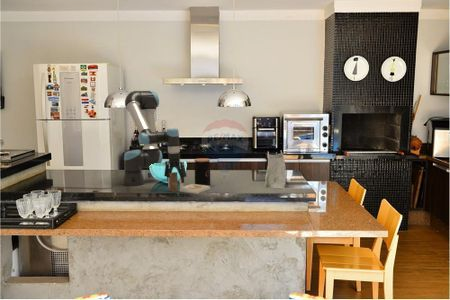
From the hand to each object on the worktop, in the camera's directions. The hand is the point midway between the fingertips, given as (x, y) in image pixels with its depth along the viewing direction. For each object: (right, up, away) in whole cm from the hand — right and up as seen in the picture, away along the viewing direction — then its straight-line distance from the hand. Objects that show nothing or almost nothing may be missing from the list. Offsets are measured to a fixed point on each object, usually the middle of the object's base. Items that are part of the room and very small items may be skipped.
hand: (176, 187), depth 284 cm
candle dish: (+12, -2, +2) cm, 12 cm away
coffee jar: (+16, 0, +19) cm, 25 cm away
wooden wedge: (-2, -2, +1) cm, 3 cm away
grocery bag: (+67, +1, +25) cm, 71 cm away
